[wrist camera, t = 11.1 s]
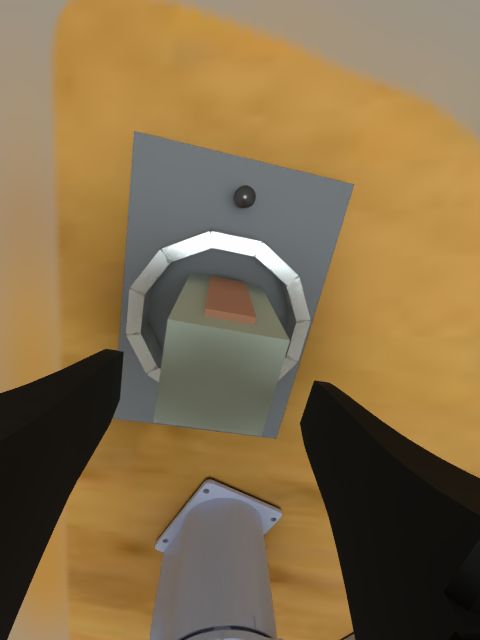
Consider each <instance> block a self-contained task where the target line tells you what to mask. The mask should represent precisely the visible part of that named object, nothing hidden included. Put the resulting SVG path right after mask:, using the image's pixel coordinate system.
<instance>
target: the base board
mask: <svg viewBox="0 0 480 640" xmlns="http://www.w3.org/2000/svg"><path fill="white" fill-rule="evenodd" d="M244 185H247V186H250V187H251V188H252V189H253V190H254V191H255V194H256V199H255V202H254V204H253V205H252V206H251V207H249V208H238V207H237V206H235V204H234V202H233V195H234V193H235V192H236V190H237V189H238V188H239V187H241V186H244ZM353 187H354V184H350V183H346V182H342V181H338V180H334V179H330V178H326V177H321V176H317V175H313V174H309V173H305V172H301V171H297V170H293V169H288V168H284V167H280V166H276V165H272V164H268V163H264V162H260V161H255V160H251V159H247V158H243V157H239V156H235V155H231V154H227V153H222V152H218V151H214V150H210V149H206V148H202V147H198V146H194V145H190V144H185V143H181V142H177V141H173V140H169V139H165V138H161V137H157V136H152V135H148V134H144V133H140V132H136V131H134V142H133V156H132V170H131V184H130V198H129V212H128V226H127V239H126V253H125V267H124V281H123V295H122V309H121V323H120V337H119V351H122V352H124V355H123V368H122V381H121V393H120V401H119V403H118V406H117V408H116V411H115V413H114V419H120V420H128V421H136V422H144V423H152V424H160V425H169V426H177V427H185V428H193V427H186V426H178V425H171V424H163V423H155V422H153V421H154V414H155V406H156V399H157V392H158V385H159V382H157V381H156V380H154V379H153V378H151V377H150V376H148V373H146V372H145V371H144V369H143V367H142V365H141V363H140V361H139V359H138V357H137V355H136V353H135V351H134V349H133V348H132V346H131V344H130V342H129V340H128V338H127V336H126V335H127V334H126V326H127V313H128V300H129V289H130V287H131V286H132V284H133V283H134V282H135V281H136V279H137V278H138V277H139V275H140V274H141V273H142V272H143V270H144V269H145V268H146V267H147V265H148V264H149V263H150V261H151V260H152V259H153V258H154V256H155V255H156V254H157V252H158V251H159V250H160V249H162V248H163V247H165V246H166V245H168V244H170V243H173V242H176V241H179V240H181V239H184V238H187V237H190V236H193V235H196V234H198V233H201V232H204V231H207V230H210V229H211V232H212V230H213V229H215V230H220V231H225V232H229V233H234V234H239V235H244V236H249V237H253V238H257V239H259V240H261V241H262V242H263V243H264V244H265V245H266V246H268V247H269V248H270V249H271V250H272V251H273V252H274V253H275V254H276V255H277V256H278V257H279V258H280V259H281V260H282V261H284V262H285V263H286V264H287V265H288V266H289V267H290V268H291V269H292V270H293V271H294V272H295V273H296V274H297V275H298V276H299V278H300V281H301V285H302V289H303V293H304V297H305V300H306V304H307V308H308V312H309V316H310V324H309V328H308V331H307V334H306V338H305V341H304V344H303V347H302V351H301V354H300V357H299V361H297V363H296V364H295V365H294V366H293V367H292V368H291V369H290V370H289V371H288V372H287V373H286V374H285V375H284V376H283V377H282V378H281V379H280V380H279V381H278V382H277V386H276V389H275V393H274V396H273V399H272V403H271V406H270V409H269V413H268V416H267V419H266V423H265V426H264V430H263V433H262V436H258V437H266V438H274V439H276V438H277V435H278V431H279V428H280V425H281V422H282V418H283V415H284V412H285V409H286V405H287V402H288V399H289V396H290V392H291V389H292V386H293V383H294V379H295V376H296V373H297V370H298V366H299V363H300V360H301V356H302V353H303V350H304V347H305V343H306V340H307V337H308V334H309V330H310V327H311V324H312V321H313V317H314V314H315V311H316V308H317V304H318V301H319V298H320V295H321V291H322V288H323V285H324V281H325V278H326V275H327V272H328V268H329V265H330V262H331V259H332V255H333V252H334V249H335V246H336V242H337V239H338V236H339V233H340V229H341V226H342V223H343V220H344V216H345V213H346V210H347V206H348V203H349V200H350V197H351V193H352V190H353ZM190 273H194V274H199V275H204V276H209V277H211V275H212V276H217V277H222V278H227V279H232V280H237V281H242V282H245V284H250V285H255V286H260V287H262V288H263V290H264V292H265V294H266V296H267V298H268V300H269V302H270V304H271V306H272V307H273V309H274V311H275V313H276V315H277V317H278V319H279V321H280V323H281V325H282V327H283V328H284V327H285V323H286V320H287V316H288V312H289V308H288V305H287V302H286V298H285V295H284V291H283V288H282V284H281V281H280V278H278V277H277V276H276V275H275V274H274V273H273V272H272V271H271V270H270V269H269V268H267V267H266V266H265V265H264V264H263V263H262V262H261V261H260V260H259V259H258V258H256V257H255V256H250V255H245V254H240V253H235V252H230V251H226V250H221V249H216V248H210V249H207V250H204V251H201V252H199V253H196V254H193V255H190V256H187V257H184V258H181V259H179V260H176V261H173V262H171V263H170V265H169V266H168V267H167V268H166V270H165V271H164V272H163V273H162V275H161V276H160V277H159V278H158V280H157V281H156V282H155V283H154V285H153V286H152V295H151V305H150V314H149V323H150V325H151V327H152V329H153V331H154V333H155V335H156V337H157V339H158V341H159V343H160V345H161V348H162V350H163V349H164V342H165V335H166V328H167V321H168V318H169V316H170V314H171V312H172V309H173V307H174V305H175V303H176V301H177V299H178V297H179V295H180V293H181V291H182V289H183V287H184V285H185V283H186V281H187V279H188V277H189V275H190ZM193 429H201V428H193ZM201 430H209V429H201ZM209 431H216V430H209ZM217 432H224V431H217ZM226 433H232V432H226ZM234 434H239V433H234ZM242 435H247V434H242ZM250 436H254V435H250Z"/></svg>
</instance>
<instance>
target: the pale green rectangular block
mask: <svg viewBox="0 0 480 640" xmlns="http://www.w3.org/2000/svg"><path fill="white" fill-rule="evenodd" d="M289 342H290V340H289V338H288V336H287V334H286V332H285V330H284V328H283V327H282V325H281V323H280V321H279V319H278V317H277V315H276V313H275V311H274V309H273V307H272V306H271V304H270V302H269V300H268V298H267V296H266V294H265V292H264V290H263V288H262V287H260V286H255V285H250V284H245V282H242V281H237V280H232V279H227V278H222V277H217V276H212V275H211V277H209V276H204V275H199V274H194V273H190V275H189V277H188V279H187V281H186V283H185V285H184V287H183V289H182V291H181V293H180V295H179V297H178V299H177V301H176V303H175V305H174V307H173V309H172V312H171V314H170V316H169V318H168V321H167V328H166V335H165V342H164V349H163V356H162V364H161V371H160V378H159V385H158V392H157V399H156V406H155V414H154V421H153V422H155V423H163V424H171V425H178V426H186V427H193V428H201V429H209V430H216V431H224V432H232V433H239V434H247V435H254V436H262V433H263V430H264V426H265V423H266V419H267V416H268V413H269V409H270V406H271V403H272V399H273V396H274V393H275V389H276V386H277V382H278V379H279V376H280V372H281V369H282V366H283V362H284V359H285V355H286V352H287V349H288V345H289Z"/></svg>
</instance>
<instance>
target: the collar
mask: <svg viewBox="0 0 480 640" xmlns="http://www.w3.org/2000/svg"><path fill="white" fill-rule="evenodd" d="M255 199H256V194H255V191H254V190H253V189H252V188H251V187H250V186H247V185H244V186H241V187H239V188H238V189H237V190H236V192H235V193H234V195H233V202H234V204H235V206H237V207H238V208H249V207H251V206H252V205H253V204H254V202H255ZM210 248H216V249H221V250H226V251H230V252H235V253H240V254H245V255H250V256H255V257H256V258H258V259H259V260H260V261H261V262H262V263H263V264H264V265H265V266H266V267H267V268H269V269H270V270H271V271H272V272H273V273H274V274H275V275H276V276H277V277H278V278H280V281H281V284H282V288H283V291H284V295H285V298H286V302H287V305H288V308H289V312H288V316H287V320H286V323H285V327H284V330H285V332H286V334H287V336H288V338H289V340H290V342H289V345H288V349H287V352H286V355H285V359H284V362H283V366H282V369H281V372H280V376H279V379H278V381H279V380H280V379H281V378H282V377H283V376H284V375H285V374H286V373H287V372H288V371H289V370H290V369H291V368H292V367H293V366H294V365H295V364H296V363H297V361H299V357H300V354H301V351H302V347H303V344H304V341H305V338H306V334H307V331H308V328H309V324H310V316H309V312H308V308H307V304H306V300H305V297H304V293H303V289H302V285H301V281H300V278H299V276H298V275H297V274H296V273H295V272H294V271H293V270H292V269H291V268H290V267H289V266H288V265H287V264H286V263H285V262H284V261H282V260H281V259H280V258H279V257H278V256H277V255H276V254H275V253H274V252H273V251H272V250H271V249H270V248H269V247H268V246H266V245H265V244H264V243H263V242H262V241H261V240H259V239H257V238H253V237H249V236H244V235H239V234H234V233H229V232H225V231H220V230H215V229H213V230H212V232H211V229H210V230H207V231H204V232H201V233H198V234H196V235H193V236H190V237H187V238H184V239H181V240H179V241H176V242H173V243H170V244H168V245H166V246H165V247H163V248H162V249H160V250H159V251H158V252H157V254H156V255H155V256H154V258H153V259H152V260H151V261H150V263H149V264H148V265H147V267H146V268H145V269H144V270H143V272H142V273H141V274H140V275H139V277H138V278H137V279H136V281H135V282H134V283H133V284H132V286H131V287H130V289H129V300H128V313H127V326H126V334H127V335H126V336H127V338H128V340H129V342H130V344H131V346H132V348H133V349H134V351H135V353H136V355H137V357H138V359H139V361H140V363H141V365H142V367H143V369H144V371H145V372H146V373H148V376H150V377H151V378H153V379H154V380H156V381H157V382H159V378H160V371H161V364H162V356H163V350H162V348H161V345H160V343H159V341H158V339H157V337H156V335H155V333H154V331H153V329H152V327H151V325H150V323H149V314H150V305H151V295H152V286H153V285H154V283H155V282H156V281H157V280H158V278H159V277H160V276H161V275H162V273H163V272H164V271H165V270H166V268H167V267H168V266H169V265H170V263H171V262H173V261H176V260H179V259H181V258H184V257H187V256H190V255H193V254H196V253H199V252H201V251H204V250H207V249H210Z"/></svg>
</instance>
